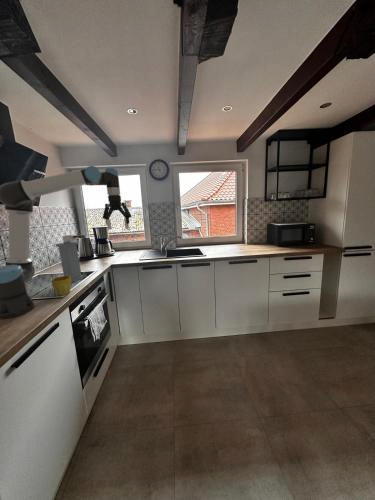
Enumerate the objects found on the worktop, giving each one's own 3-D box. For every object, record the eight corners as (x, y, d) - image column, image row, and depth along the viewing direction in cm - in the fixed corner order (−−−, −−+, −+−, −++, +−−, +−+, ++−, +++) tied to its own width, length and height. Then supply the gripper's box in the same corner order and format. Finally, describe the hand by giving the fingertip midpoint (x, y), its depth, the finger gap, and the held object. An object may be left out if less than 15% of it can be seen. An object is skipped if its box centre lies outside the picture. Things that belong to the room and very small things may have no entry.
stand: (84, 277, 153) (78, 241, 147) (72, 282, 144) (66, 243, 138) (74, 277, 156) (67, 241, 151) (62, 281, 147) (55, 243, 141)
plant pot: (51, 298, 118) (48, 282, 116) (57, 291, 128) (54, 276, 126) (70, 295, 121) (68, 279, 119) (75, 289, 131) (72, 274, 129)
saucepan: (89, 241, 143) (88, 234, 142) (79, 243, 135) (78, 236, 134) (71, 241, 149) (70, 234, 148) (60, 243, 141) (59, 236, 140)
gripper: (134, 193, 124) (138, 228, 128) (102, 196, 132) (106, 229, 136) (127, 193, 117) (131, 229, 121) (93, 196, 125) (98, 230, 129)
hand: (118, 229), depth 129 cm, fingers open, 13 cm apart
